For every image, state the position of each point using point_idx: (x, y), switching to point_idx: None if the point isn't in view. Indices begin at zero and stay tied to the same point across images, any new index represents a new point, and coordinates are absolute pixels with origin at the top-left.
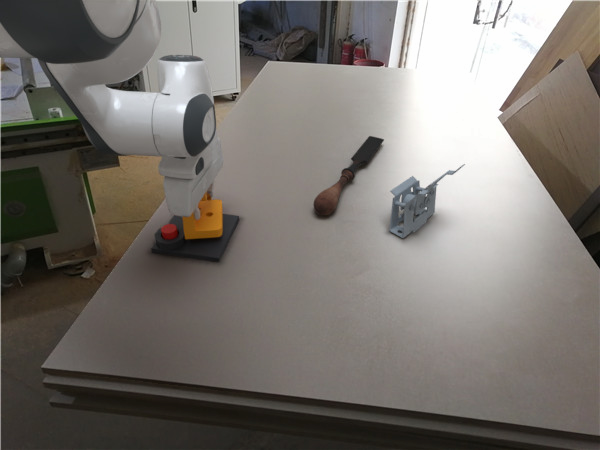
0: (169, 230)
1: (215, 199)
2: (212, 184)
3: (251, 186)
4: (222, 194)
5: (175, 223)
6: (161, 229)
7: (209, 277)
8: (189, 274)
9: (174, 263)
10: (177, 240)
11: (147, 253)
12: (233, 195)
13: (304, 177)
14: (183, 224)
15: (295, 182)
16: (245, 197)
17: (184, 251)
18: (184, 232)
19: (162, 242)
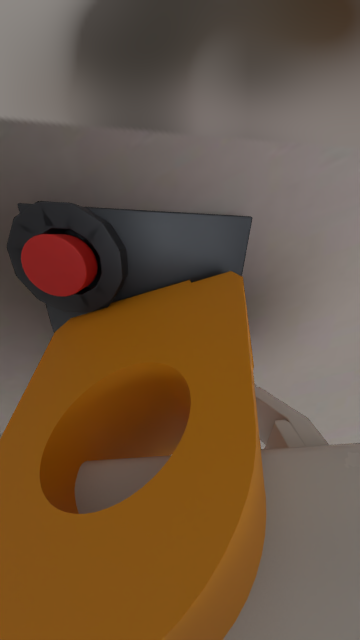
0: (43, 275)
1: (252, 361)
2: (265, 442)
3: (347, 364)
4: (325, 313)
5: (165, 238)
6: (33, 238)
7: (26, 375)
8: (11, 338)
9: (25, 292)
10: (46, 302)
11: (20, 190)
12: (316, 339)
13: (356, 435)
14: (49, 344)
15: (343, 427)
16: (304, 364)
17: (54, 313)
18: (57, 331)
19: (11, 256)
